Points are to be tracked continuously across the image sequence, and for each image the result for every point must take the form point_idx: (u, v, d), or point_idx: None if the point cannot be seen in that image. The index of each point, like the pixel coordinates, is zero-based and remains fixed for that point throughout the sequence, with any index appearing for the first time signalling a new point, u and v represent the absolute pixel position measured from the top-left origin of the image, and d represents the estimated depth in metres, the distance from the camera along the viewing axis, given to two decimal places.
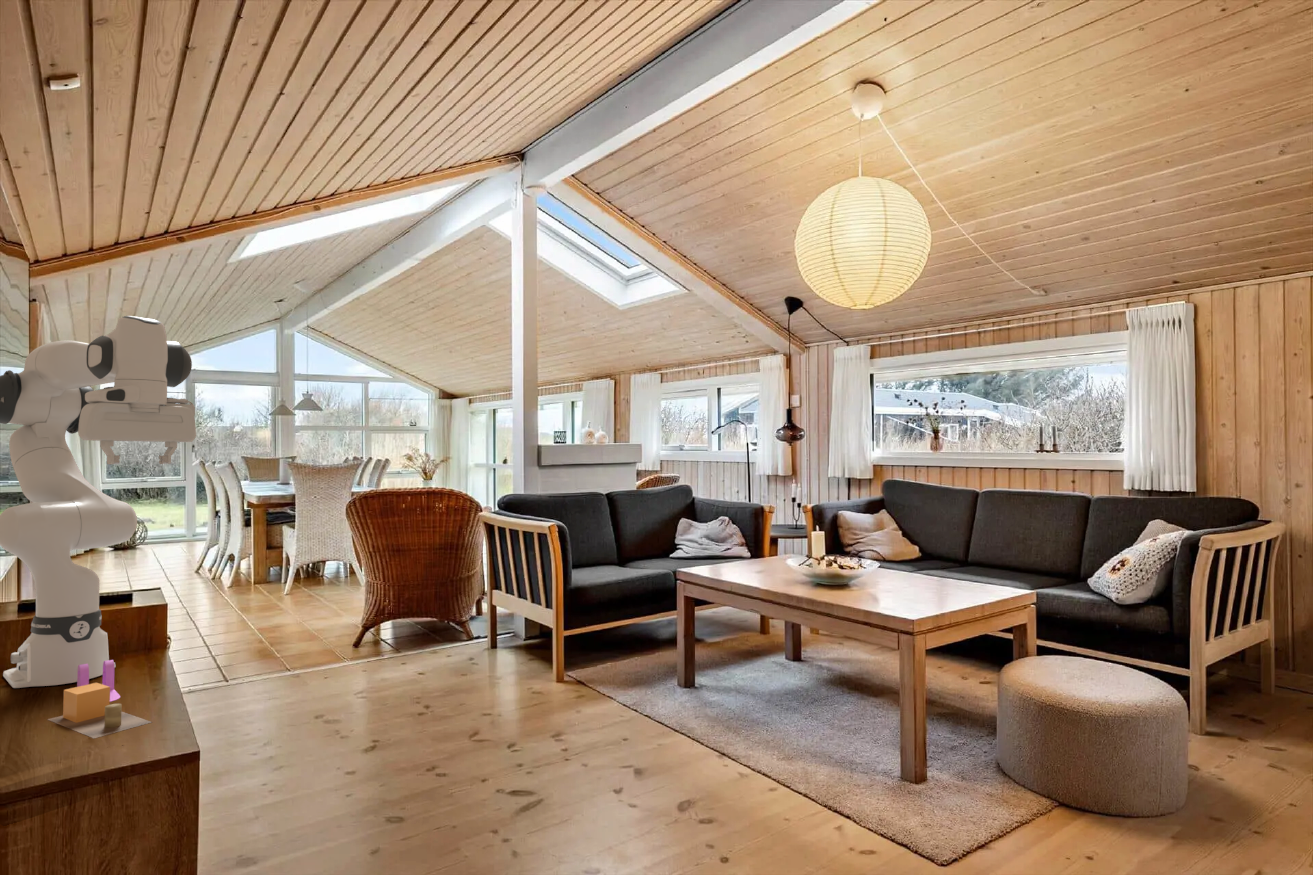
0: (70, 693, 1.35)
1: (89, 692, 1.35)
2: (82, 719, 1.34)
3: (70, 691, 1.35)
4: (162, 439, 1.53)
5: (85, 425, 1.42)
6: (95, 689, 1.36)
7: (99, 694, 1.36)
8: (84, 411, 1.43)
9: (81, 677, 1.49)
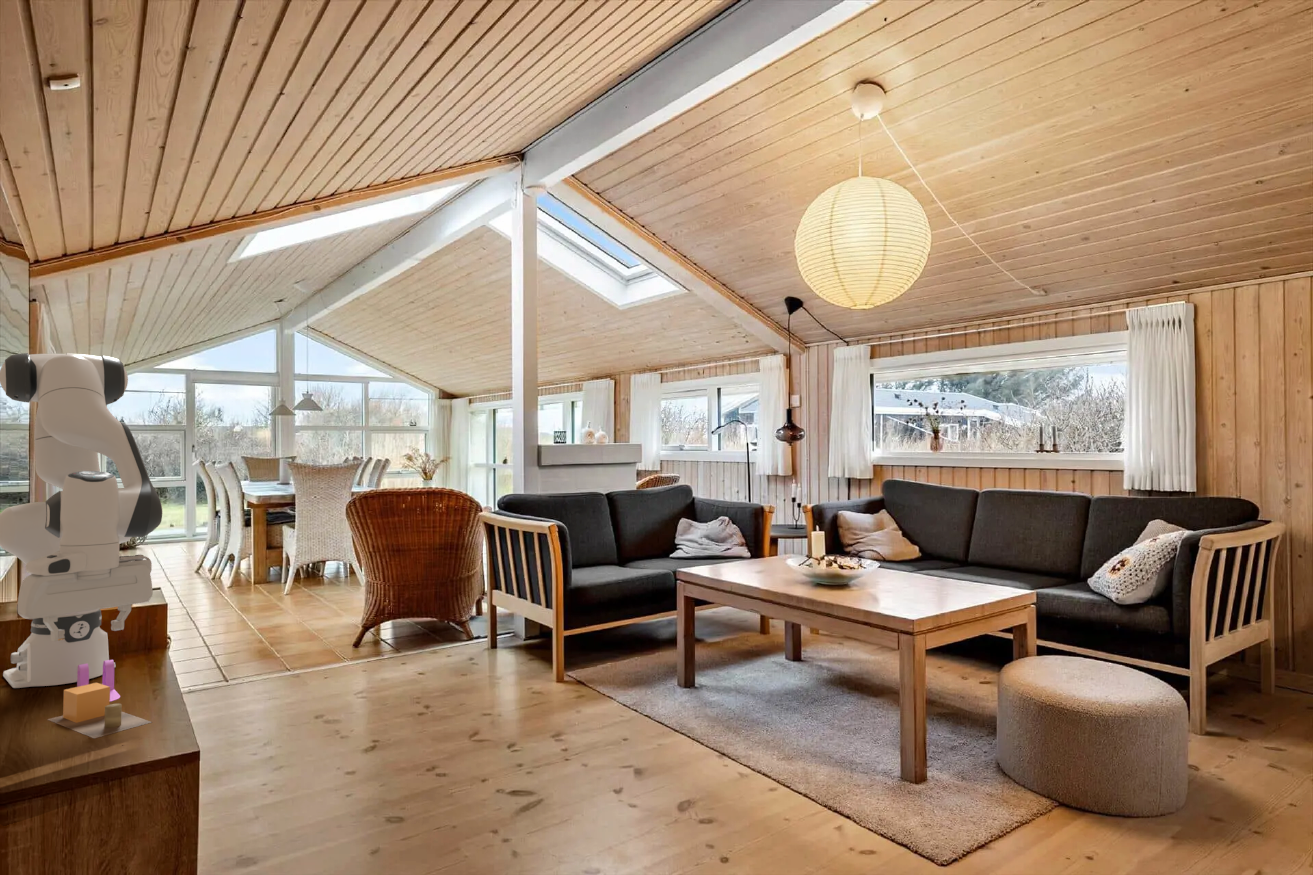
0: (70, 693, 1.35)
1: (89, 692, 1.35)
2: (82, 719, 1.34)
3: (70, 691, 1.35)
4: (114, 605, 1.39)
5: (25, 603, 1.28)
6: (95, 689, 1.36)
7: (99, 694, 1.36)
8: (23, 586, 1.30)
9: (81, 677, 1.49)
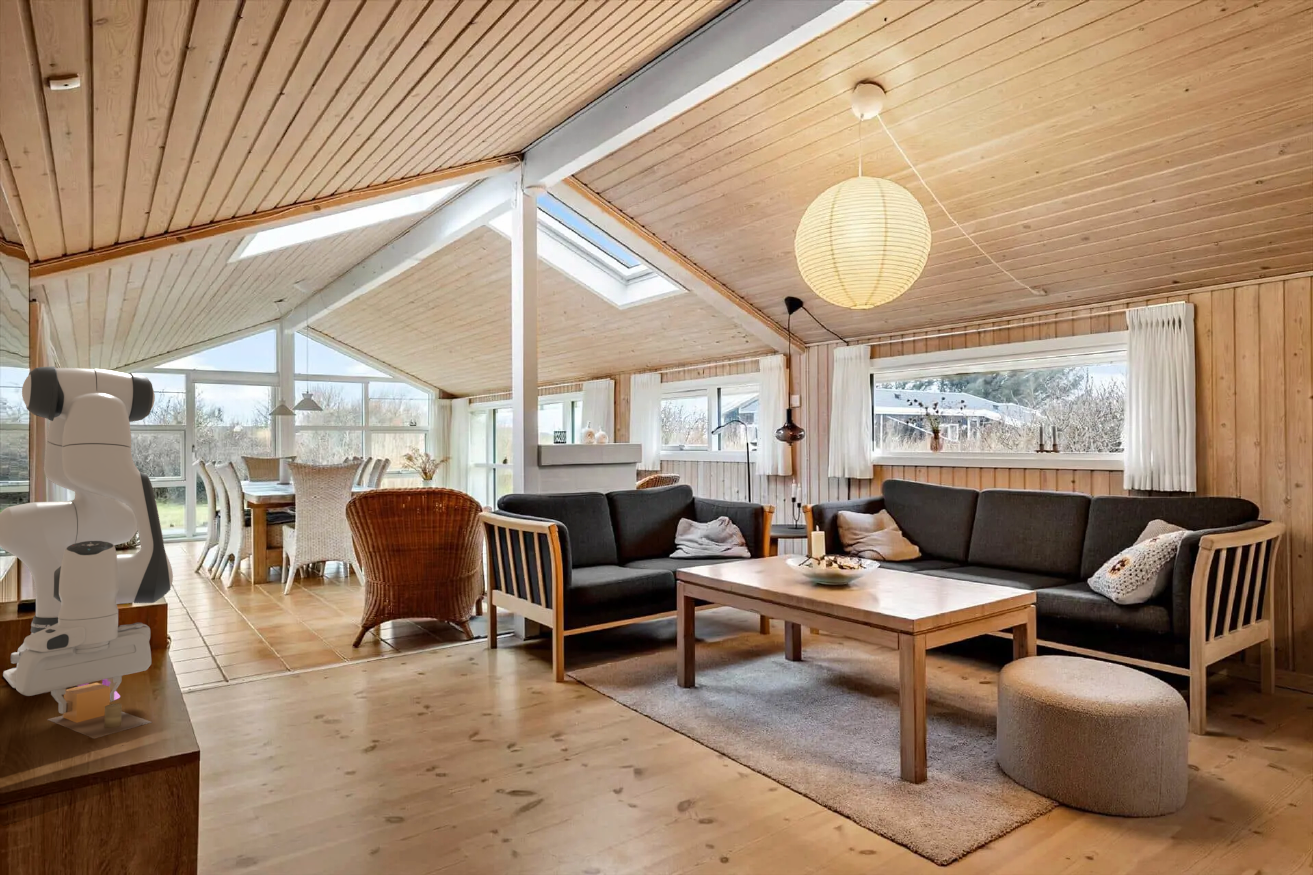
0: (70, 693, 1.35)
1: (89, 692, 1.35)
2: (82, 719, 1.34)
3: (70, 691, 1.35)
4: (112, 676, 1.39)
5: (23, 680, 1.28)
6: (95, 689, 1.36)
7: (99, 694, 1.36)
8: (22, 662, 1.29)
9: None
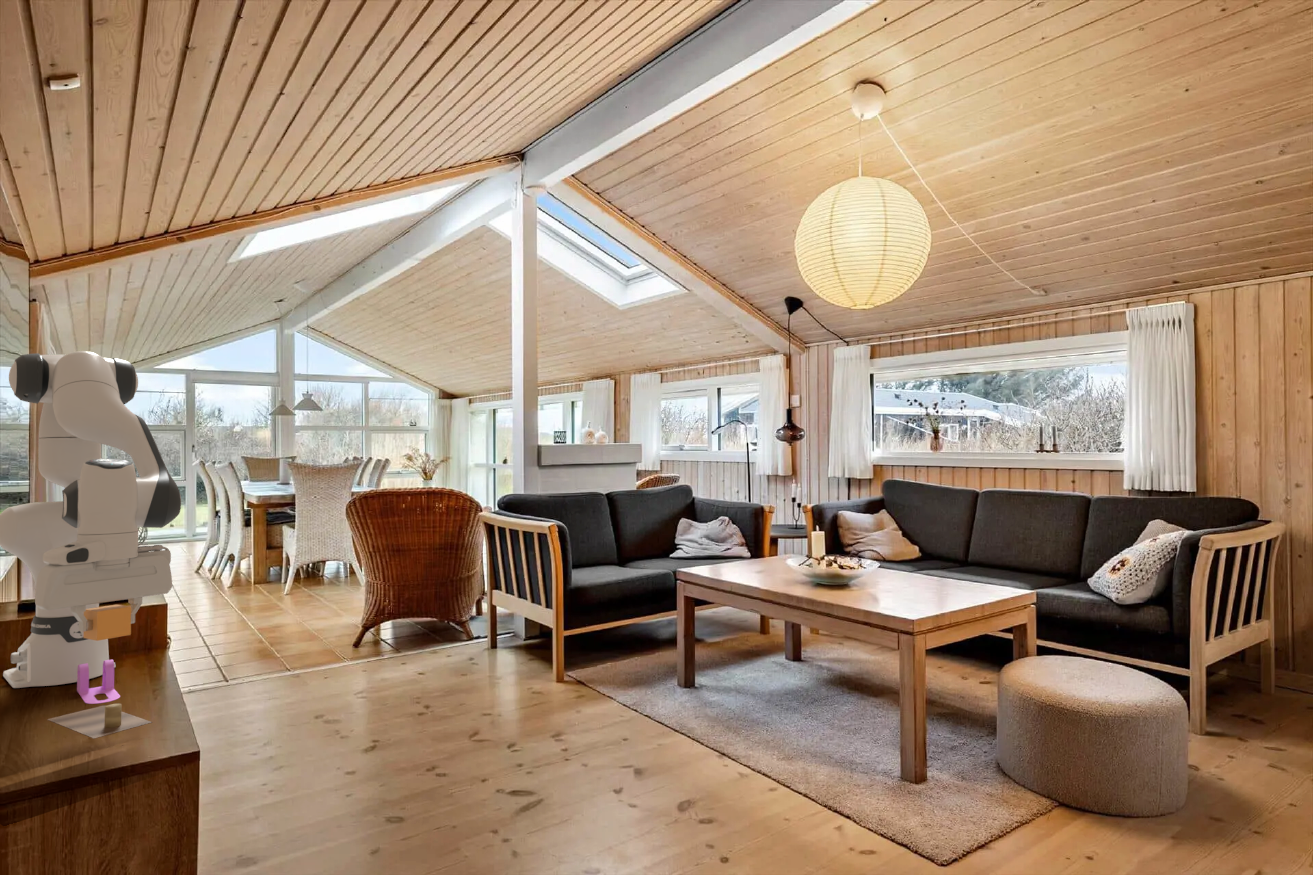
0: (90, 611, 1.31)
1: (110, 610, 1.31)
2: (103, 637, 1.30)
3: (90, 610, 1.31)
4: (133, 596, 1.35)
5: (42, 594, 1.24)
6: (116, 608, 1.32)
7: (120, 613, 1.33)
8: (41, 576, 1.26)
9: (81, 677, 1.49)
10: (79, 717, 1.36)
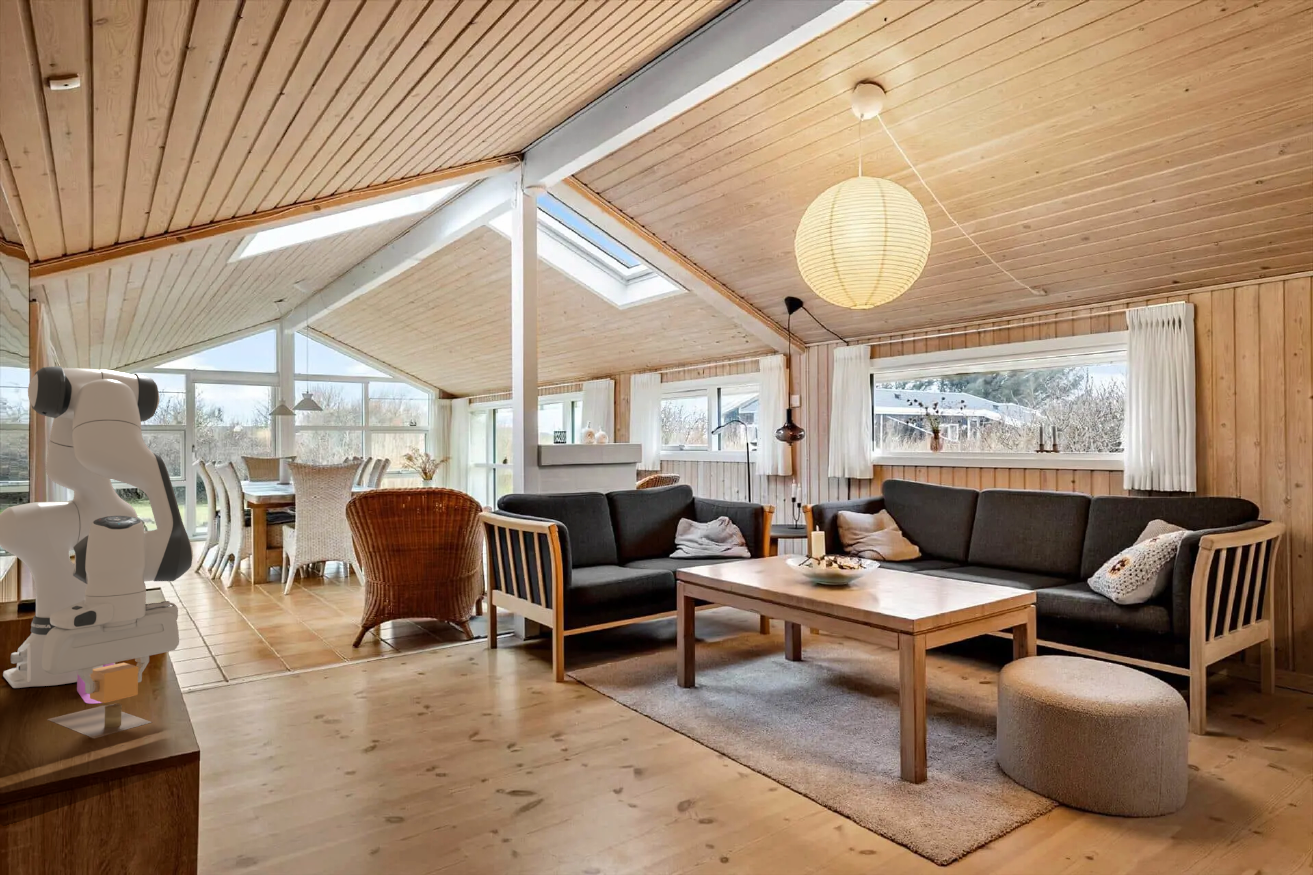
0: (97, 673, 1.30)
1: (117, 672, 1.30)
2: (110, 699, 1.29)
3: (97, 671, 1.30)
4: (140, 655, 1.34)
5: (49, 658, 1.23)
6: (123, 669, 1.31)
7: (127, 674, 1.31)
8: (48, 640, 1.24)
9: None
10: (79, 717, 1.36)
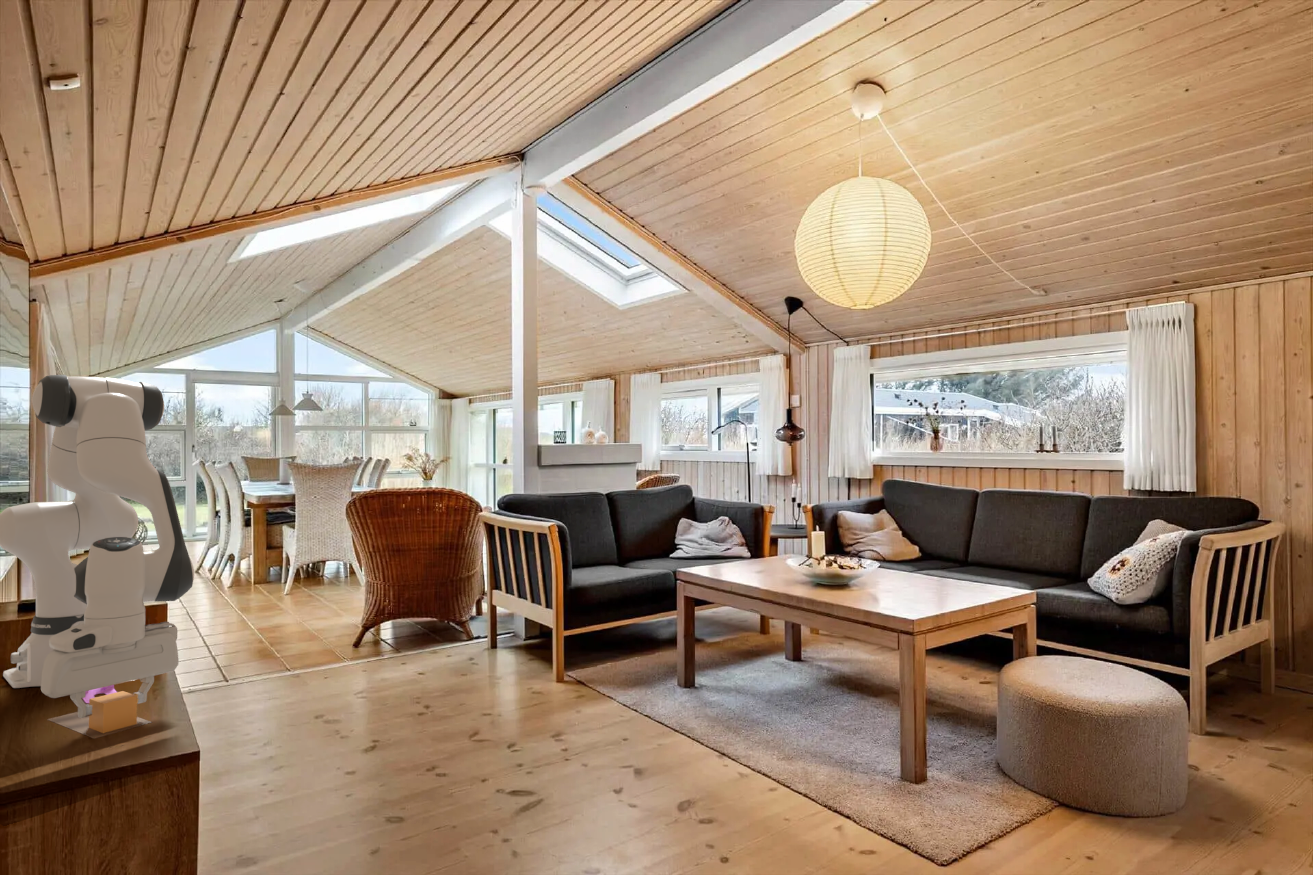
0: (96, 702, 1.30)
1: (116, 701, 1.30)
2: (109, 729, 1.29)
3: (96, 700, 1.30)
4: (139, 677, 1.34)
5: (49, 682, 1.23)
6: (122, 698, 1.31)
7: (126, 703, 1.31)
8: (47, 663, 1.24)
9: None
10: (79, 717, 1.36)
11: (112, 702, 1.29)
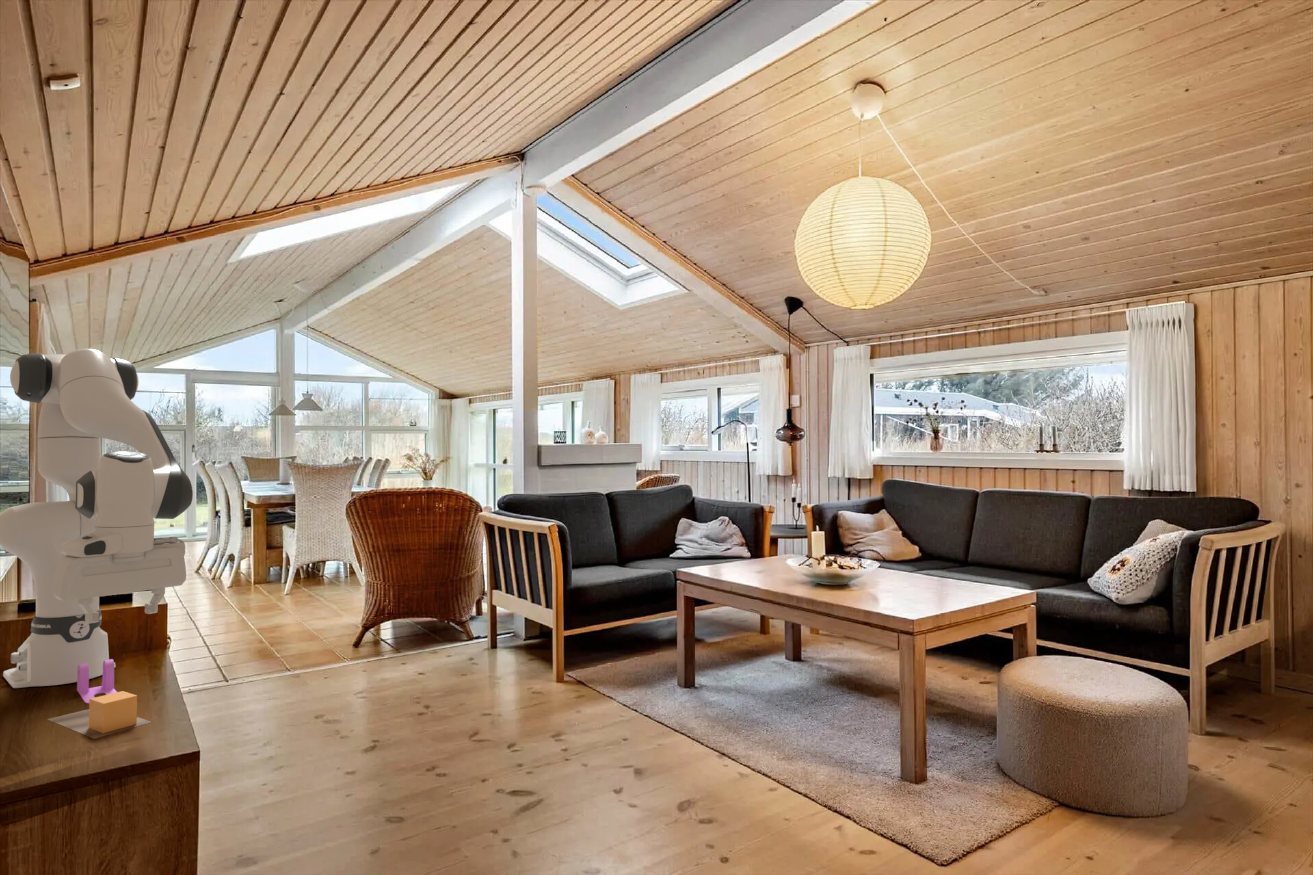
0: (96, 702, 1.30)
1: (116, 701, 1.30)
2: (109, 729, 1.29)
3: (96, 700, 1.30)
4: (148, 588, 1.37)
5: (60, 585, 1.26)
6: (122, 698, 1.31)
7: (126, 703, 1.31)
8: (59, 567, 1.27)
9: (81, 676, 1.50)
10: (79, 717, 1.36)
11: (112, 702, 1.29)
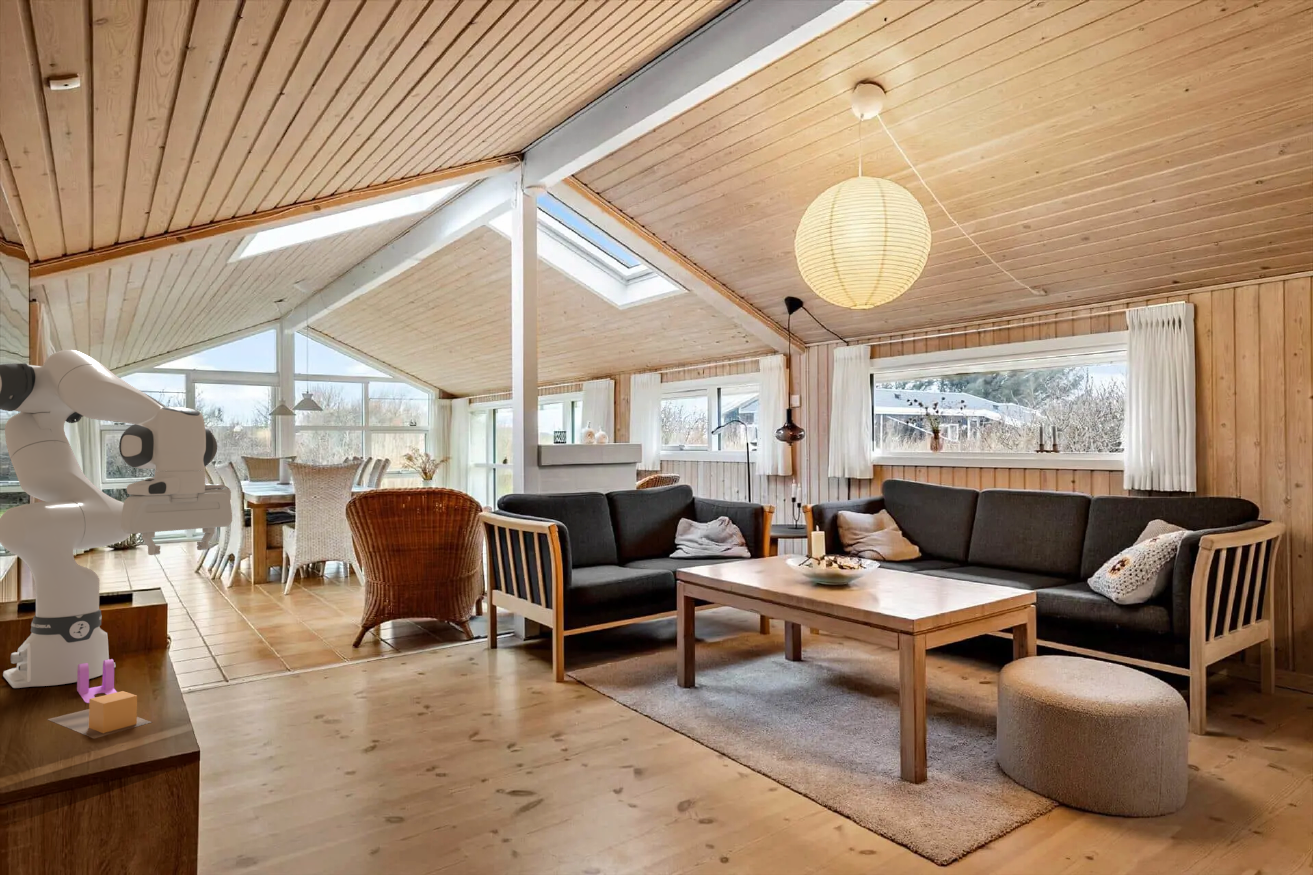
0: (96, 702, 1.30)
1: (116, 701, 1.30)
2: (109, 729, 1.29)
3: (96, 700, 1.30)
4: (200, 526, 1.56)
5: (128, 519, 1.45)
6: (122, 698, 1.31)
7: (126, 703, 1.31)
8: (126, 505, 1.46)
9: (81, 676, 1.50)
10: (79, 717, 1.36)
11: (112, 702, 1.29)
